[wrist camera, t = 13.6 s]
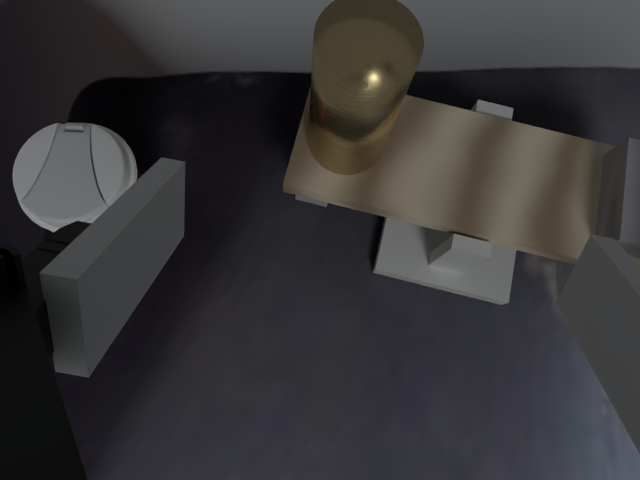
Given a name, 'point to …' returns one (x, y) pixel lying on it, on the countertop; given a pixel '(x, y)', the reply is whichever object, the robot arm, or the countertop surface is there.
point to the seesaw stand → (446, 251)
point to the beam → (487, 181)
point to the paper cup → (72, 173)
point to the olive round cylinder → (359, 80)
